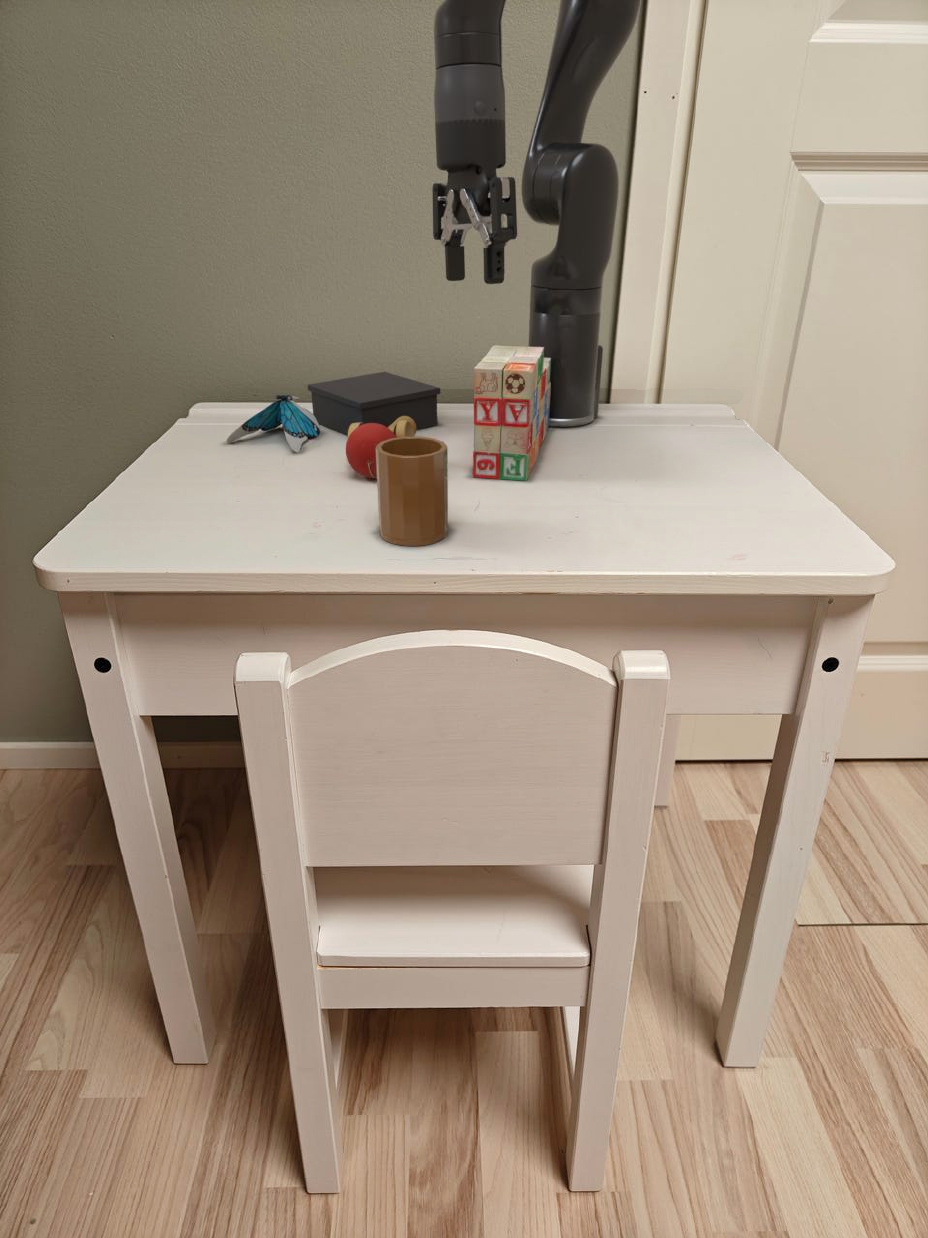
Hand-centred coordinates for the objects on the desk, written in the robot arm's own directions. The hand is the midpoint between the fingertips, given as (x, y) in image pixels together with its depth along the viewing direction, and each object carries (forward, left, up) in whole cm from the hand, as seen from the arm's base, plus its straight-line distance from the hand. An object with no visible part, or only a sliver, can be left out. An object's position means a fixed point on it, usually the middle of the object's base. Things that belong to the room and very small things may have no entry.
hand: (474, 281), depth 99 cm
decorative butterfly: (+17, -18, -19) cm, 31 cm away
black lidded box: (+4, -16, -19) cm, 25 cm away
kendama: (+12, -2, -19) cm, 23 cm away
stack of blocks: (-2, +5, -19) cm, 20 cm away
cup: (+23, +18, -19) cm, 35 cm away
